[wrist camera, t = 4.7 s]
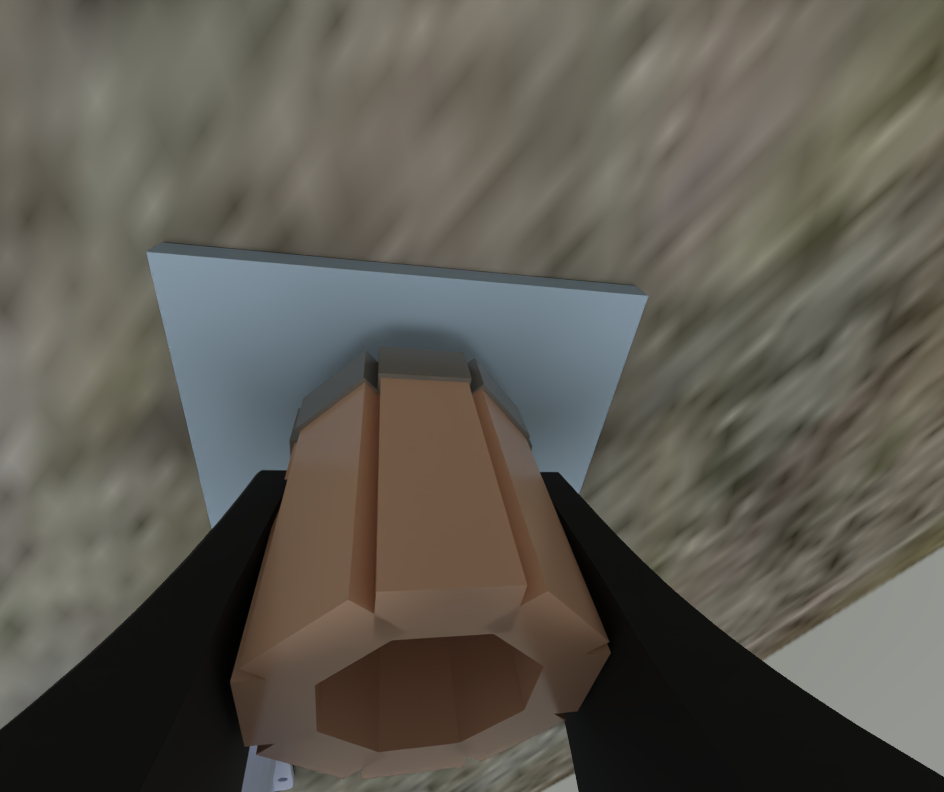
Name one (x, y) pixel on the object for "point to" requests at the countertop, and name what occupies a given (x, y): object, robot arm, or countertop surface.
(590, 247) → the countertop surface
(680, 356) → the countertop surface
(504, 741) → the sleeve
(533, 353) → the pin board
